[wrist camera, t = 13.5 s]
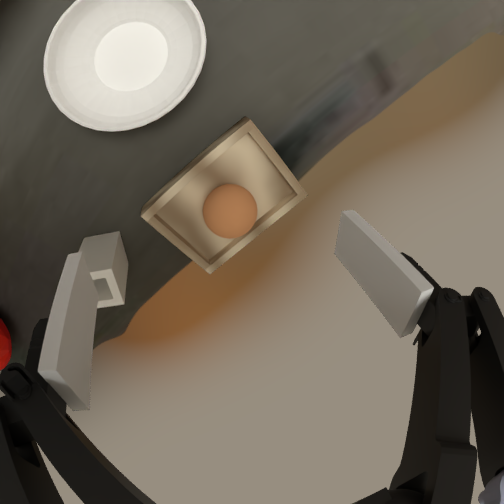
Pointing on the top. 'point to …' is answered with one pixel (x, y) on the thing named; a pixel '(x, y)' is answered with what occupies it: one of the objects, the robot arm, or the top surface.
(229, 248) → the tray
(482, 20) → the top surface
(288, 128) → the top surface
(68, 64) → the bowl
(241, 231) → the ball
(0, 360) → the tomato
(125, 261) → the square tube
